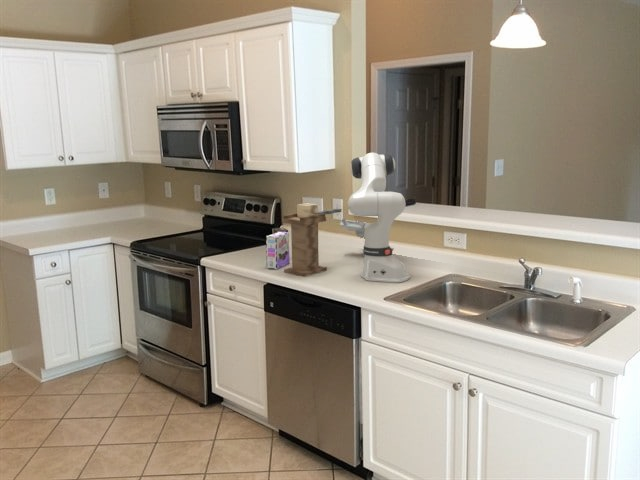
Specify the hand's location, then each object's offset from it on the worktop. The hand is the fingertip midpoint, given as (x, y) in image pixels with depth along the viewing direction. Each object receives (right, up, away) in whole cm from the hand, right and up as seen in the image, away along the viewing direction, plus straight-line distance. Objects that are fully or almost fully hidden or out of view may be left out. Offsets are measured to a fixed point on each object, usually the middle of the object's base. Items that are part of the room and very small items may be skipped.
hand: (349, 220), depth 303 cm
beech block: (-14, +2, -16) cm, 21 cm away
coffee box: (-36, -20, +7) cm, 42 cm away
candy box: (-36, -23, -9) cm, 44 cm away
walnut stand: (-22, -25, -20) cm, 39 cm away
